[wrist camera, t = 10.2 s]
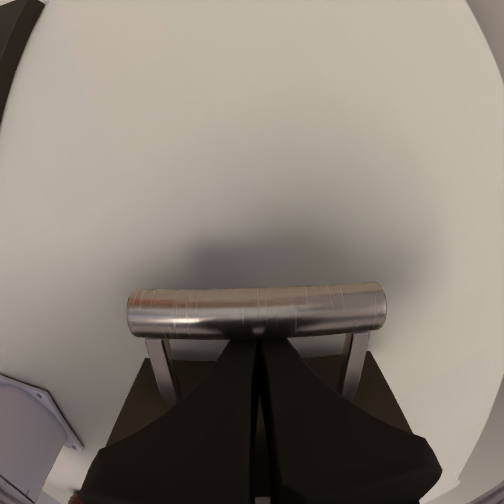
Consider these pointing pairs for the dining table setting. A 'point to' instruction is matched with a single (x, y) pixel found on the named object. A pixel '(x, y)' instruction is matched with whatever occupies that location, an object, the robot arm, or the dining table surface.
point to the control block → (14, 38)
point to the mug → (75, 499)
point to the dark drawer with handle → (256, 327)
